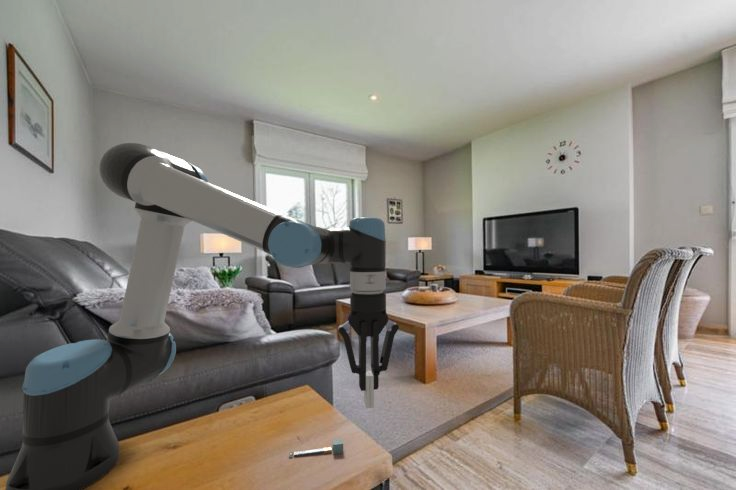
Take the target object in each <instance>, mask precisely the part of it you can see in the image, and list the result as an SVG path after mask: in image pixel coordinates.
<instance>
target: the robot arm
mask: <svg viewBox="0 0 736 490" xmlns="http://www.w3.org/2000/svg"><path fill="white" fill-rule="evenodd" d="M98 171H99V174H100V177H101V180H102V182H103V183H104V185H105V187H107V188H108V189H109V191H111V192H112V193H114V194H115V195H117V196H119V197H120V198H123V199H125V200H130V201H131V202H132V201H133V202H135V205H134V210H135V212H136V213H137V214H138V215H139V216H140V222H139V226H138V231H137V237H136V242H135V245H134V251H133V254H132V260H131V265H130V269H129V275H128V278H127V284H126V287H125V292H124V293H125V294H124V297H123V303H122V308H121V312H120V316H119V320H118V321H116V322H115V323H113V324H111V325H110V326H109V328H108V332H107V338H106V340H105V339H101V338H100V339H99V338H98V339H86V340H85V339H84V340H80V341H77V342H74V343H73V342H71V343H67V344H63V345H60V346H56V347H54V348H51V349H49V350H46V351H44V352H42V353H40V354H38V355H37V356H35V357H34V358H33V359H32V360H30V361H29V363H28V365H27V366H26V369H25V373H24V379H23V383H22V387H21V388H22V389H21V390H22V391H23V405H22V406H23V412H22V413H23V415H22V443H21V447H20V450H19V452H18V455H17V457H16V459H15V461H14V464H13V466H12V468H11V471H10V473H9V475H8V478H7V480H6V483H5V490H83V489H84V488H86V487H88V486H90V485H92V484H94V483H95V482H97V481H98V480H100V479H101V478H103V477H104V476H106V475H107V474H108V473H109V472H110V471H111V470H112V469H113V468H114V467H115V466H116V465H117V463H118V461H119V459H120V442H119V441H118V438H117V436H116V434H115V432H114V429H113V427H112V424H111V422H110V401H111V400H112V399H115V398H117V397H118V396H121V395H123V394H125V393H127V392H129V391H131V390H133V389H135V388H137V387H139V386H141V385H143V384H146V383H149V382H151V381H153V380H154V379H156V378H157V377H159V376H160V375H161V374H163V373H164V372H166V371H167V370H168V369H169V368H170V366H171V365H172V364H173V363H174V359H175V357H176V353H177V344H176V341H174V339H175V338H174V336H173V335H172V333H171V327H170V326H169V325H168V324H167V323H166V322H165V321H166V320H165V319H166V314H167V310H168V305H169V300H170V296H171V292H172V286H173V282H174V277H175V272H176V269H177V267H176V266H177V263H178V257H179V253H180V248H181V243H182V239H183V235H184V230H185V226H186V225H187V224H189V223H190V222H195V223H197V224H200V225H201V226H204V227H206V228H208V229H211V230H213V231H216V232H218V233H220V234H223V235H225V236H228V237H230V238H232V239H234V240H236V241H239V242H241V243H244V244H245V245H248V246H251V247H252V248H255V249H258V250H260V251H262V252H264V253H266V254H268V255H270V256H271V257H272V258H273V259H274V260H275V261H276V262H277V263H278V264H280V265H282V266H284V267H290V268H294V269H295V268H296V269H300V268H304V267H307V266H311V265H312V266H313V265H322V264H349V269H350V270H349V279H350V280H349V288H350V289H349V290H350V291H351V293H350V294H349V296H350V297H349V299H350V300H349V303H350V304H349V305H350V306H349V307H350V308H349V311H350V313H349V315H348V317H347V320H346V321H345V322H344V323H343V324H338V326H337V330H338V333H339V334H340V335H341V337H342V339H343V342H344V346H345V351H346V356H347V359H348V363H349V368H350V369H351V373H352V374H357V375H358V385H359V386H358V387H359V390H360V391H361V392H363V402H364V406H365V408H366V409H374V408H375V397H374V395H375V392H374V391H376V390H378V389H379V387H380V386H379V385H380V383H379V381H380V380H379V376H380V374H381V372H386V371H387V370H388V367H389V362H390V357H391V353H392V348H393V343H394V339H395V336H396V334H397V332H398V331H399V328H400V326H399V324H397V322H395V321H392V320H390V319H389V316H388V314H387V294H386V293H385V292H384V291H385V290H386V288H387V287H386V286H387V283H386V282H387V281H386V280H387V279H386V277H387V276H386V269H387V268H386V266H387V265H386V263H387V262H386V260H387V259H386V258H387V257H386V255H387V254H386V248H387V247H386V246H387V245H386V243H387V239H386V229H385V227H386V226H385V221H384V220H383V219H381V218H378V217H370V216H369V217H355V218H354V217H353V218H352V219H350V221H349V225H348V227H345V228H344V227H343V228H323V227H318V226H316V225H313V224H309V223H307V222H304V221H301V220H299V219H297V218H294V217H292V216H289V215H287V214H285V213H282V212H280V211H277V210H275V209H273V208H270V207H267V206H266V205H263V204H260V203H259V202H256V201H254V200H251V199H248V198H246V197H243V196H241V195H239V194H236V193H233V192H231V191H229V190H227V189H224V188H222V187H221V186H218V185H215V184H212V183H210V182H209V180H208V178H207V176H206V174H205V173H204V172H203V171H202V169H201V168H199V167H198V166H195V165H194V164H192V163H191V162H189V161H188V160H184V159H182V158H179V157H176V156H173V155H170V154H168V153H166V152H164V151H161V150H158V149H155V148H153V147H151V146H149V145H146V144H141V143H136V142H125V143H120V144H117V145H115V146H112V147H111V148H109V149H107V151H105V153H103V156H102V157H101V158H100V162H99V170H98ZM351 328H352V330H353V331H354V332H355V334H356V335H357V337H358V338H357V339H358V364H357V362H356V358H355V354H354V350H353V346H352V342H351V338H350V335H349V334H350V333H351ZM384 328H385V329H386V332H385V335H384V341H383V345H382V349H381V354H380V355H379V351H380V350H379V347H380V346H379V341H380V334H381V332H382V331H383V330H384ZM368 337H370V368H371V370H367V342H368V341H367V339H368Z"/></svg>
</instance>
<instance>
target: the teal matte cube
mask: <svg viewBox="0 0 736 490" xmlns="http://www.w3.org/2000/svg"><path fill="white" fill-rule="evenodd" d="M332 454H333V455H334V454H335V455H336V454H337V455H338V454H344V440H343V438H337V439H334V438H333V439H332Z"/></svg>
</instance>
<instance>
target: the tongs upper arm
mask: <svg viewBox="0 0 736 490" xmlns="http://www.w3.org/2000/svg"><path fill="white" fill-rule="evenodd" d="M323 454H333V448H332V447H331V446H329V447H323V448H317V449H308V450H301V451H300V450H299V451H294V452H293V451H290V452H289V455H288V458H289V459H291V458H296V457H305V456H314V455H323Z"/></svg>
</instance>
